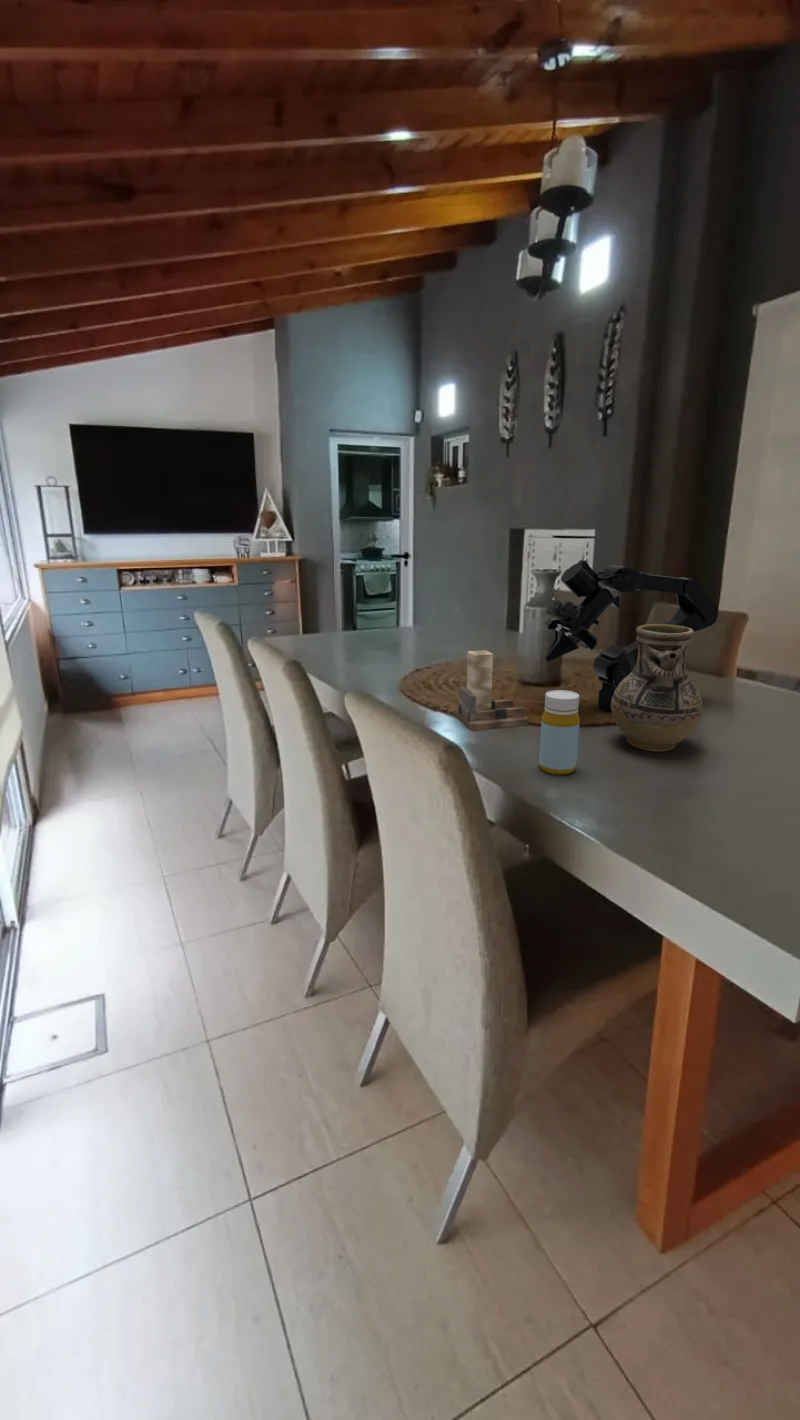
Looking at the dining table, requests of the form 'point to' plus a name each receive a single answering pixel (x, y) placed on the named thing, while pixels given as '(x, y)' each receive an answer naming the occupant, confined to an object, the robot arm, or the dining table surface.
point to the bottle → (559, 732)
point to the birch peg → (480, 677)
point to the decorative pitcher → (658, 691)
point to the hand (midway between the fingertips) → (545, 660)
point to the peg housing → (488, 713)
